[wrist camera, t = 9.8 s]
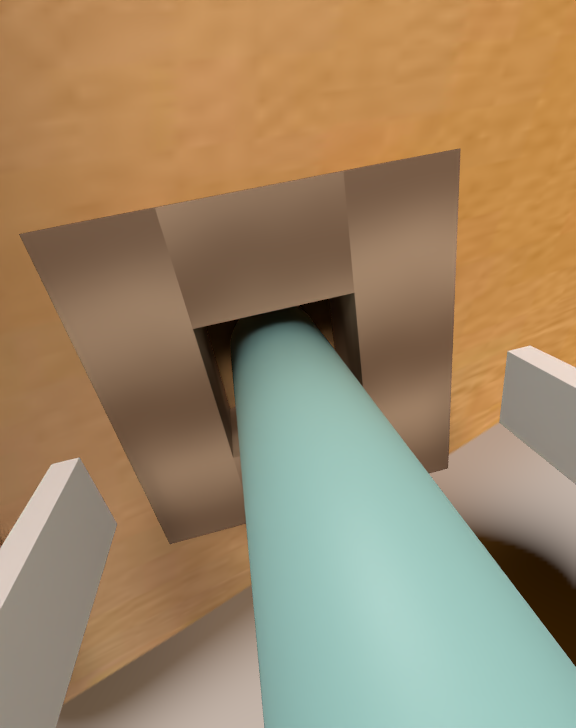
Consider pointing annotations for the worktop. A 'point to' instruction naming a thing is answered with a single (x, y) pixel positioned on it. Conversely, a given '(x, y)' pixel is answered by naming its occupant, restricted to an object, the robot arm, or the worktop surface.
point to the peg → (370, 562)
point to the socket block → (256, 296)
